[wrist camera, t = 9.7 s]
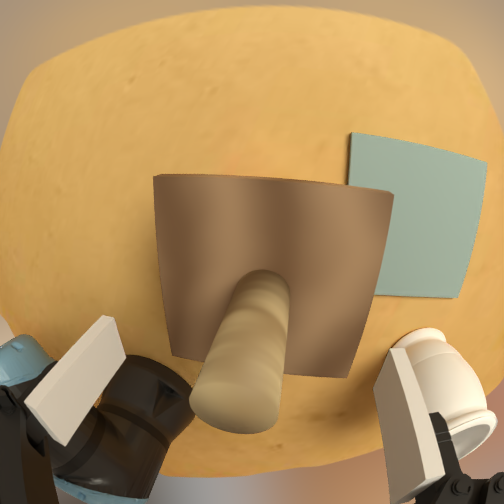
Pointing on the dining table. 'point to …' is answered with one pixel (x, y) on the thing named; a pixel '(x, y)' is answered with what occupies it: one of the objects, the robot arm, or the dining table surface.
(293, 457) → the dining table surface
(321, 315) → the lid
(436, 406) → the jar
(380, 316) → the dining table surface
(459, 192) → the mat
